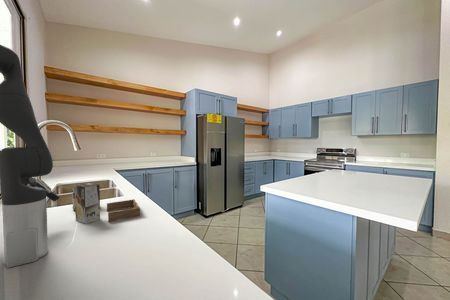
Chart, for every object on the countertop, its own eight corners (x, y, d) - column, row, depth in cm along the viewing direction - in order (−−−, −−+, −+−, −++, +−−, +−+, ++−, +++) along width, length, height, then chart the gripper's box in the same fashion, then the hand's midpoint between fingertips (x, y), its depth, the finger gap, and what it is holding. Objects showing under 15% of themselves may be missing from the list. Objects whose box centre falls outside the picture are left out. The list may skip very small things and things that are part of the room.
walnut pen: (139, 216, 91) (139, 207, 91) (108, 222, 84) (108, 213, 84) (134, 206, 105) (134, 199, 105) (107, 211, 98) (106, 203, 98)
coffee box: (101, 219, 88) (100, 184, 87) (85, 224, 82) (84, 186, 81) (90, 215, 92) (89, 182, 91) (74, 220, 86) (73, 184, 86)
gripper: (18, 167, 70) (63, 195, 77) (29, 163, 81) (67, 189, 88) (-3, 183, 67) (45, 211, 74) (11, 177, 78) (52, 202, 85)
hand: (57, 199), depth 81 cm, fingers closed
